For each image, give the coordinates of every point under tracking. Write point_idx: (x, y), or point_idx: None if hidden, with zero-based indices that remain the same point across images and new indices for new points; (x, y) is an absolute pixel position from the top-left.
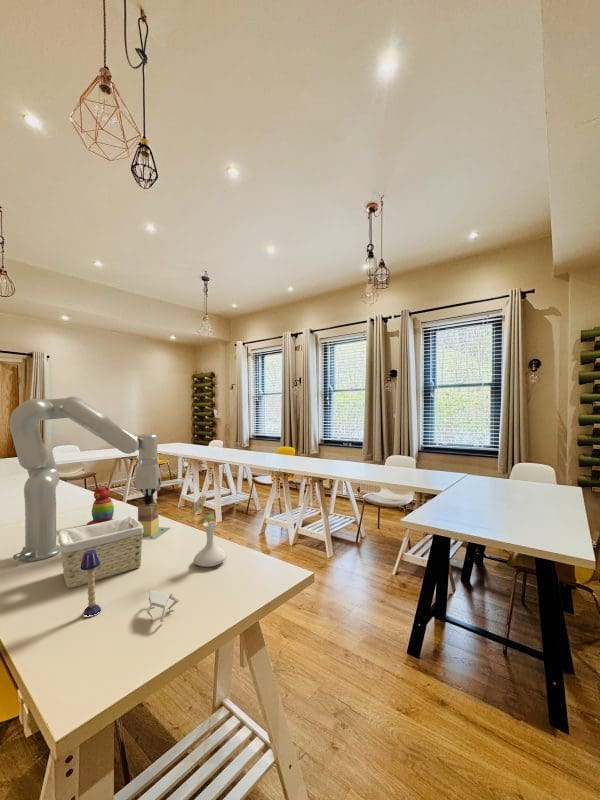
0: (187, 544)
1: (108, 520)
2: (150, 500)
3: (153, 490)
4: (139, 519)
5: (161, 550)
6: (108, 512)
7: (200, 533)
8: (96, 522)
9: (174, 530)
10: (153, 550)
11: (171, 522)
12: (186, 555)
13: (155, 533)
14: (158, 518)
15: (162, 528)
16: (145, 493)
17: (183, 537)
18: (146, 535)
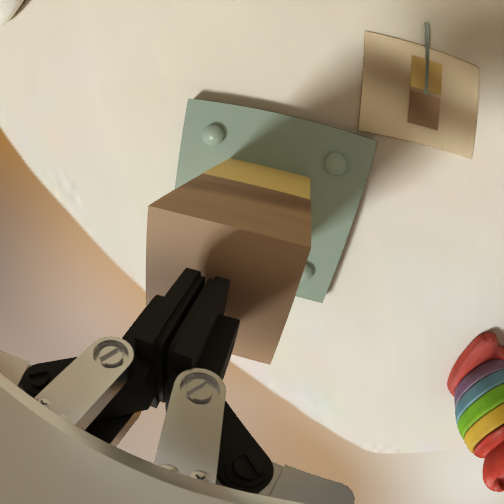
0: (64, 82)
1: (468, 373)
2: (151, 304)
3: (35, 378)
4: (297, 199)
5: (136, 14)
6: (479, 395)
7: (56, 193)
8: (501, 357)
9: None
10: (168, 9)
11: None
12: (58, 4)
13: None
14: None
15: None
16: (172, 391)
17: (92, 153)
18: (257, 164)
